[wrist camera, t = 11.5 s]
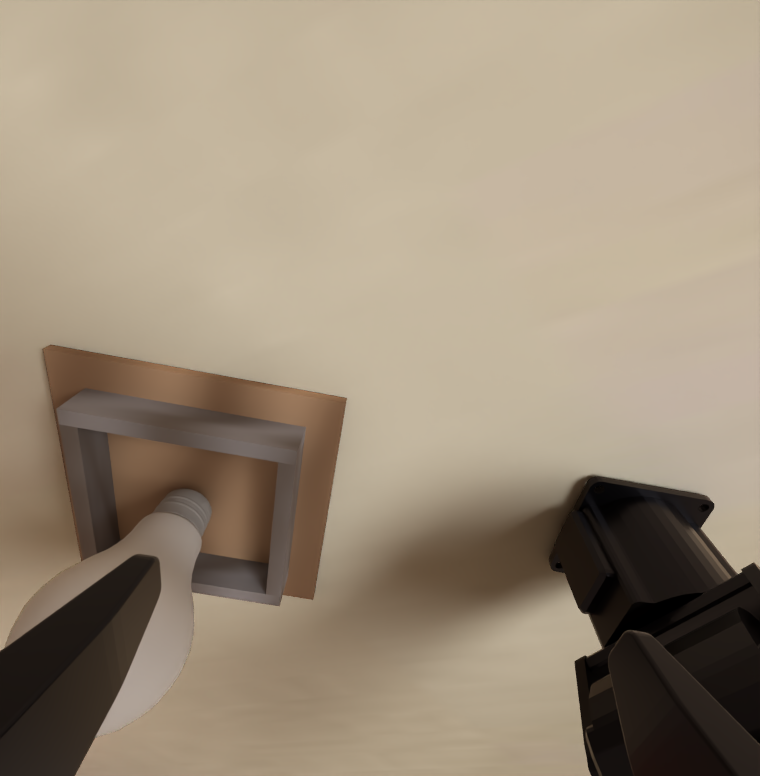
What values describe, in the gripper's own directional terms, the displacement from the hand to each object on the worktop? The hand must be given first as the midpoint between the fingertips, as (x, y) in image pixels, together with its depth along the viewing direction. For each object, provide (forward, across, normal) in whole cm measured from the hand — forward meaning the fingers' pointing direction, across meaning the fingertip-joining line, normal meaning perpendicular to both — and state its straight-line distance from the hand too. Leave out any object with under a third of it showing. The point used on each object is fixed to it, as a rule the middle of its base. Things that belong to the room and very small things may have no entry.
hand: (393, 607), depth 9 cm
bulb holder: (+13, +9, +10) cm, 19 cm away
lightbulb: (+13, +9, +10) cm, 19 cm away
